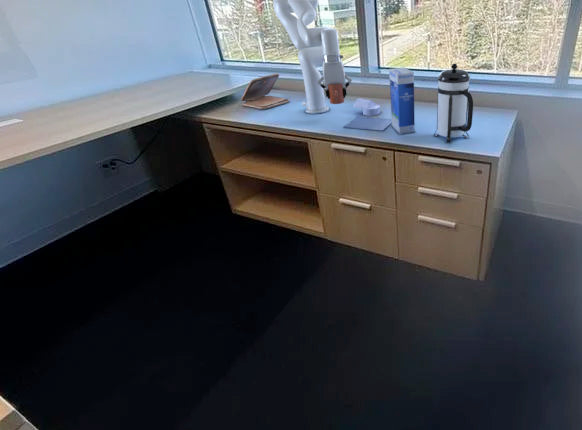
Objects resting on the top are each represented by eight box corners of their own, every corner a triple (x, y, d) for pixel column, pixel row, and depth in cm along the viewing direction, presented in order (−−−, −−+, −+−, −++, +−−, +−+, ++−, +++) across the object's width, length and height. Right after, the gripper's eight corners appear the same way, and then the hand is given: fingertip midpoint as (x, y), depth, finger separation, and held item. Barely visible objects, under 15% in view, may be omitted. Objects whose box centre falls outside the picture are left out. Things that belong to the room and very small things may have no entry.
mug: (329, 100, 187) (327, 81, 182) (343, 99, 188) (341, 80, 183) (330, 106, 179) (327, 86, 174) (345, 104, 179) (343, 85, 175)
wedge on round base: (353, 113, 199) (373, 116, 193) (352, 100, 195) (372, 103, 189) (363, 108, 205) (383, 111, 199) (362, 96, 202) (382, 98, 196)
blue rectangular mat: (343, 127, 180) (343, 127, 180) (357, 117, 193) (357, 116, 192) (382, 131, 174) (382, 130, 174) (394, 120, 186) (394, 119, 186)
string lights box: (415, 132, 171) (414, 72, 157) (399, 134, 169) (397, 74, 155) (406, 123, 181) (404, 66, 168) (390, 125, 180) (388, 68, 166)
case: (269, 97, 233) (263, 70, 225) (291, 101, 223) (286, 73, 214) (240, 105, 220) (233, 77, 211) (263, 110, 209) (256, 80, 200)
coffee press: (429, 141, 160) (430, 67, 144) (438, 129, 172) (440, 59, 157) (469, 146, 154) (475, 68, 138) (477, 133, 167) (483, 60, 151)
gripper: (350, 55, 178) (353, 94, 187) (313, 58, 176) (318, 97, 185) (351, 58, 172) (355, 98, 181) (312, 61, 170) (318, 101, 179)
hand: (336, 97), depth 183 cm, fingers closed on mug, 7 cm apart
